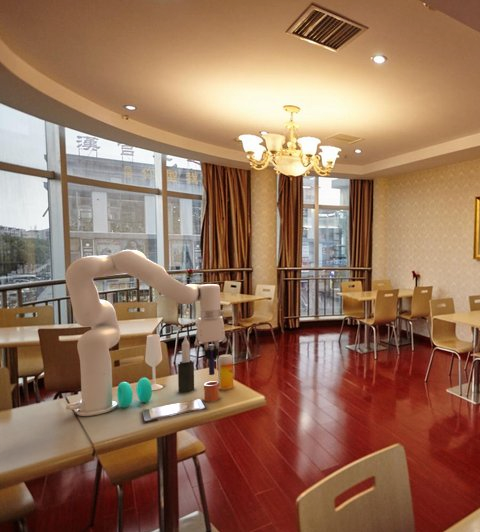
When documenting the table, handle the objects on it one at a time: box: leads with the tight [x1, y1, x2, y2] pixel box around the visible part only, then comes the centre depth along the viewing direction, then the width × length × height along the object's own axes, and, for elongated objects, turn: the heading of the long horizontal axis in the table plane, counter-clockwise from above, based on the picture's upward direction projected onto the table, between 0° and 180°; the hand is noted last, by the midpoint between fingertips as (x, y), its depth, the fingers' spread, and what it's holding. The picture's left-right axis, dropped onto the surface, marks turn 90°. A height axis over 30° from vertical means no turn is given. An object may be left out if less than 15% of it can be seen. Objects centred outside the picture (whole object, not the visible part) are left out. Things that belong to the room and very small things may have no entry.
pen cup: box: [203, 380, 220, 402], centre depth 162 cm, size 5×5×7 cm
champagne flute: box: [144, 333, 164, 391], centre depth 176 cm, size 7×7×24 cm
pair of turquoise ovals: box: [116, 377, 153, 409], centre depth 157 cm, size 10×10×10 cm
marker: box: [208, 343, 216, 376], centre depth 162 cm, size 2×2×12 cm
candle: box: [177, 335, 195, 394], centre depth 171 cm, size 5×5×25 cm
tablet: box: [142, 398, 206, 424], centre depth 151 cm, size 20×12×1 cm, turn 127°
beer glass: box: [217, 353, 234, 391], centre depth 176 cm, size 6×6×15 cm
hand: (211, 357), depth 162 cm, fingers closed on marker, 2 cm apart
